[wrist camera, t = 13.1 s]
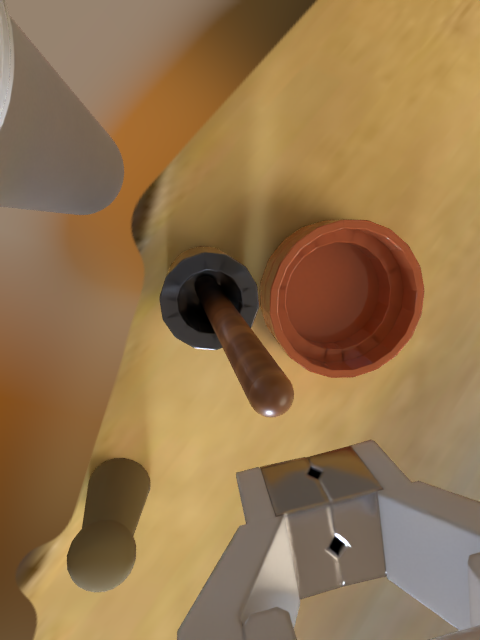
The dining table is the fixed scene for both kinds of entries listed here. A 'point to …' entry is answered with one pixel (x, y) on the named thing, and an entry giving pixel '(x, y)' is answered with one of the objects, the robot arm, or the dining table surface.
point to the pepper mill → (109, 526)
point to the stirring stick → (245, 353)
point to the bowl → (342, 296)
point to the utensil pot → (184, 304)
